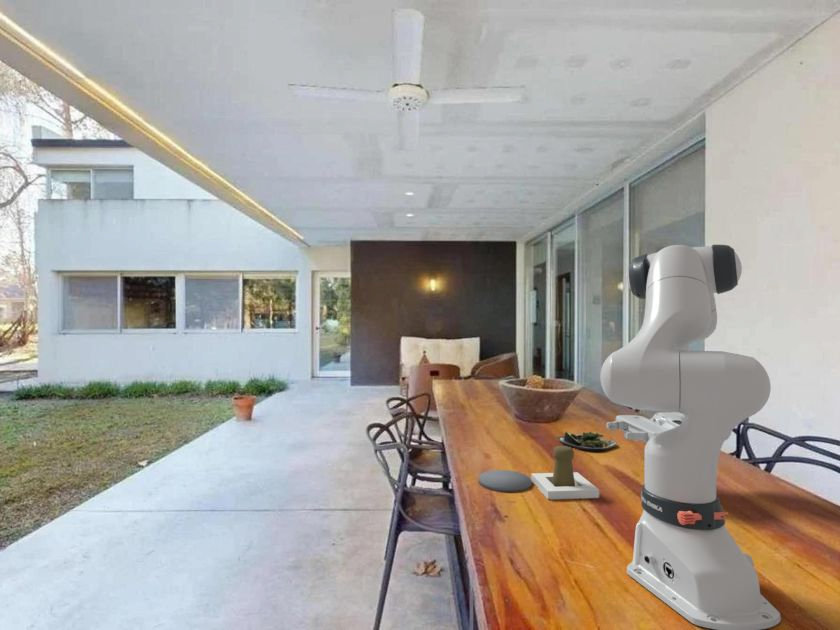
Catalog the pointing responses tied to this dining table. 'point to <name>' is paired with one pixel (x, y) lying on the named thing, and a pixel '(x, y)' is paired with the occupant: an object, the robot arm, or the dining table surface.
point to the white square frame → (564, 487)
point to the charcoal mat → (504, 481)
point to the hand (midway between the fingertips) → (616, 430)
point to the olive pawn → (563, 467)
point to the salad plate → (586, 441)
